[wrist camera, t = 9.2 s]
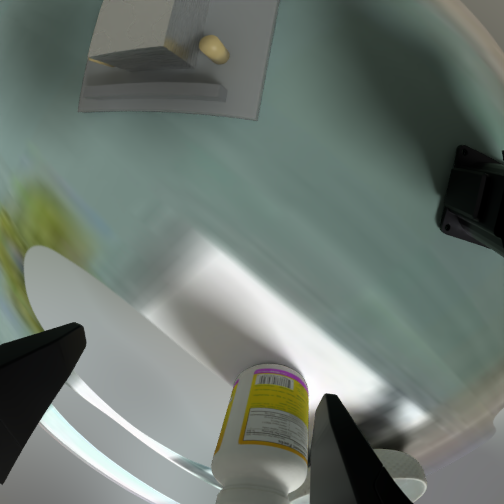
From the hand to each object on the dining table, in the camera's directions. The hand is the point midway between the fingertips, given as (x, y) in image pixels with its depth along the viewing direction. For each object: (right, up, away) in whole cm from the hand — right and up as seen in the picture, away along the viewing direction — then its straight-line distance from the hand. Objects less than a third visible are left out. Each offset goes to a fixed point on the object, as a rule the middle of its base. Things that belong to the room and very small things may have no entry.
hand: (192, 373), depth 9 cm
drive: (-3, +21, +5) cm, 22 cm away
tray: (-3, +21, +6) cm, 22 cm away
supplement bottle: (+4, -8, +15) cm, 18 cm away
